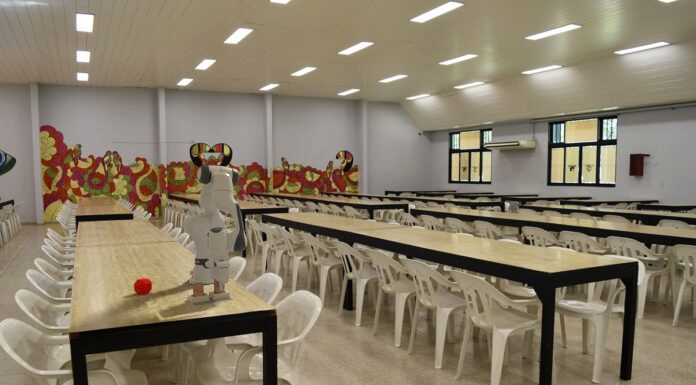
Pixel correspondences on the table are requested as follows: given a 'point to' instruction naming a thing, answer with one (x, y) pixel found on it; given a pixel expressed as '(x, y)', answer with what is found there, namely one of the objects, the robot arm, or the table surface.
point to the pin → (198, 289)
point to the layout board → (209, 298)
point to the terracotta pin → (217, 287)
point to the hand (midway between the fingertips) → (219, 289)
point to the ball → (142, 286)
